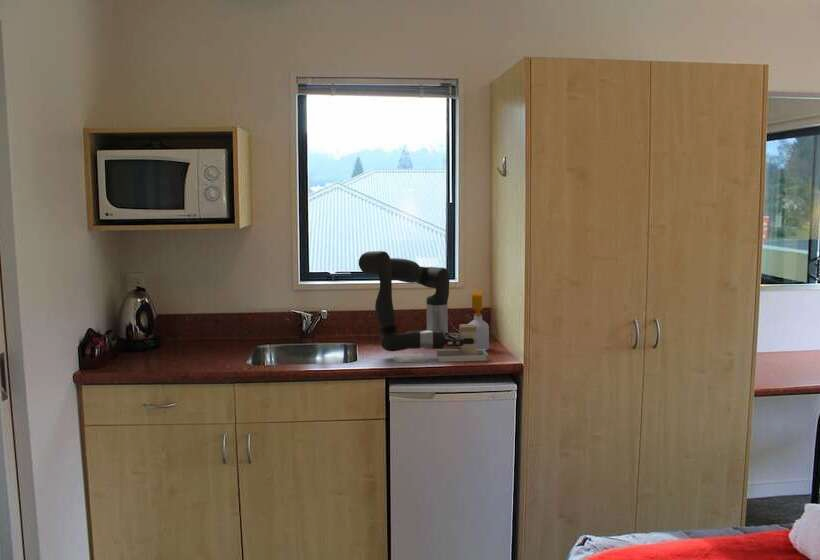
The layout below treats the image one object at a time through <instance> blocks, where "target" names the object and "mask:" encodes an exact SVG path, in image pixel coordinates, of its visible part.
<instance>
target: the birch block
mask: <svg viewBox="0 0 820 560" xmlns="http://www.w3.org/2000/svg"><path fill="white" fill-rule="evenodd" d="M459 333H460V338H473V339H474V344H464V345H463V346H459V349H460V355H476V326H475V324H469V323H467V324H466V323H462V324H459Z"/></svg>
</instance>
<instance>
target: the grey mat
mask: <svg viewBox="0 0 820 560" xmlns="http://www.w3.org/2000/svg"><path fill="white" fill-rule="evenodd" d="M425 355H426V354H425V353H408V354H404V353H401V354H397V353H395V354H394V363H426V362H427V360H426V356H425Z"/></svg>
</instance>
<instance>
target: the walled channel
mask: <svg viewBox="0 0 820 560" xmlns="http://www.w3.org/2000/svg"><path fill="white" fill-rule="evenodd" d="M436 356H438V358H437V359H438V362H439V361H440V362H476V361H478V362H480V361H481V362H484V361H489V360H490V359H489V358H490V356H489V354H488V352H487V350H486V351H485V349H476V355H460V348H459V349H436Z"/></svg>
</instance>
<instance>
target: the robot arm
mask: <svg viewBox="0 0 820 560" xmlns="http://www.w3.org/2000/svg"><path fill="white" fill-rule="evenodd" d="M358 267H359V269H360V270H361V272H362V273H363V274H365V275H368V276H378V279H379V290H378V293H377V296H376V299H375V307H374V309H375V314H376V320H377V324H378V326H379V332H380V344H381V348H382V349H383V350H385V351H388V352H398V351H404V350H405V351H406V350H409V349H411V350H414V349H416V350H418V349H420V350H421V349H423V350H444V347H445V344H446V346H448V347H460V346H463V345H464V344H474V339H473V338H460V332H459V331H457V332H449V331H448V328H449V327H448V325H449V324H448V320H449V319H448V302H449V301H448V300H449V297H450V272H449V271H448V269H447V268H445V267H439V266H437V267H436V266H421V265H420V264H419V263H417V262H416V261H413V260H410V259H406V258H399V257H398V258H395V257H392V258H391V257H390V255H389V253H388V252H386V251H384V250H373V251H366V252H364V253H362V254H361V255H360V257H359V259H358ZM393 280H394V281H399V282H403V283H407V284H415V283H416V284H418V285H421V286H424V287H425V288H428V289H435V291H434V292H435V293H434V294H433V295H429V296H427V298H426V329H425V330H410V331H409V330H408V331H406V332H405V333H399V332H398V329H397V324H396V317H395V316H396V315H395V311H394V310H395V309H394V304H393V293H392V292H393V291H392V290H393V289H392V288H393V287H392V286H393V283H392V281H393Z"/></svg>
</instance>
